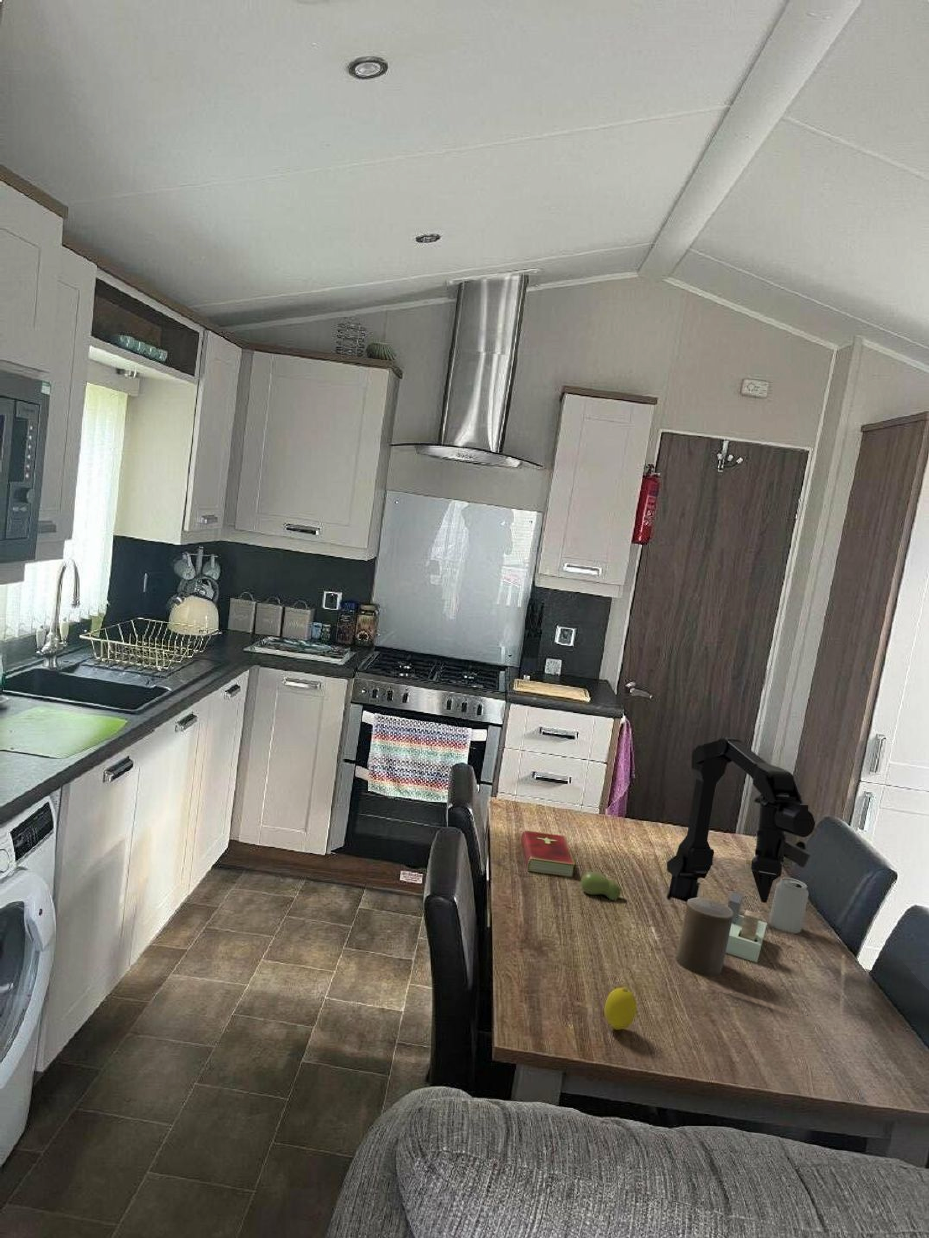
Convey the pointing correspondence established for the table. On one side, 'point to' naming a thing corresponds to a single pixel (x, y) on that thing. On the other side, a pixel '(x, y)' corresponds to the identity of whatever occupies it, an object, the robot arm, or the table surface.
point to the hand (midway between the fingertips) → (765, 898)
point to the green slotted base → (738, 922)
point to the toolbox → (743, 950)
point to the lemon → (620, 1008)
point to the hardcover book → (547, 853)
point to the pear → (600, 885)
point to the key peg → (750, 925)
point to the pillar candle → (704, 936)
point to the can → (789, 905)
